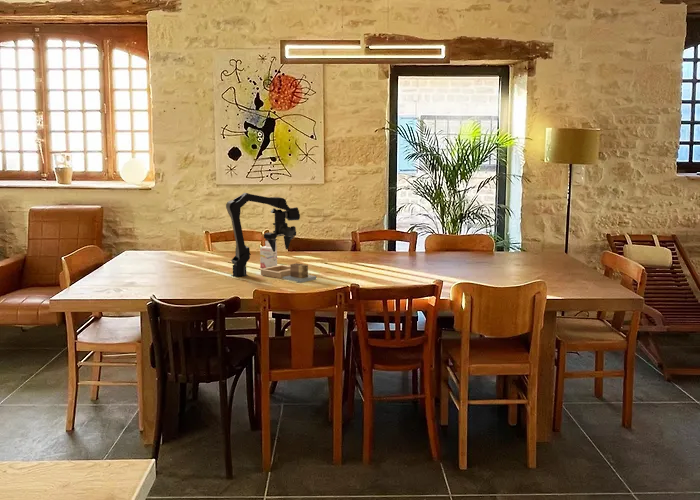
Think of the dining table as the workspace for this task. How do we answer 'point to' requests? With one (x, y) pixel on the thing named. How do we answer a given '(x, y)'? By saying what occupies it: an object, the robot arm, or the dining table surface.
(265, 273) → the beige shallow square tray
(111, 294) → the dining table surface
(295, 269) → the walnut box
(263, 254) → the ink cartridge box
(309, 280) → the trivet
